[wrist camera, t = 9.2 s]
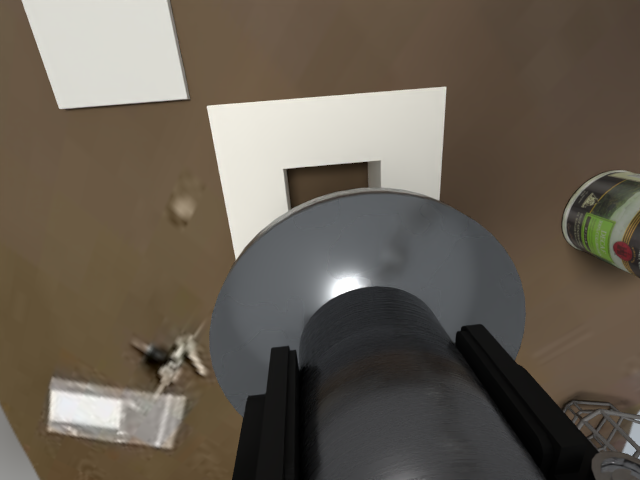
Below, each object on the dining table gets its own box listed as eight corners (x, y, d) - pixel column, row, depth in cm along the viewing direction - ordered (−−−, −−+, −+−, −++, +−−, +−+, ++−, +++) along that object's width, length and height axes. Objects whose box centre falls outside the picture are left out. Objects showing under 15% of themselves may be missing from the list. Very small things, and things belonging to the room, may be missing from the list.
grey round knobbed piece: (452, 152, 15) (926, 268, 4) (440, 339, 19) (652, 671, 8) (222, 175, 15) (-31, 373, 3) (259, 359, 19) (197, 737, 7)
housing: (420, 91, 32) (446, 86, 27) (414, 268, 40) (433, 293, 34) (222, 107, 32) (206, 105, 26) (253, 284, 39) (245, 312, 34)
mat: (158, -56, 27) (154, -61, 26) (190, 99, 31) (187, 98, 31) (12, -47, 27) (4, -52, 26) (65, 109, 31) (59, 108, 30)
